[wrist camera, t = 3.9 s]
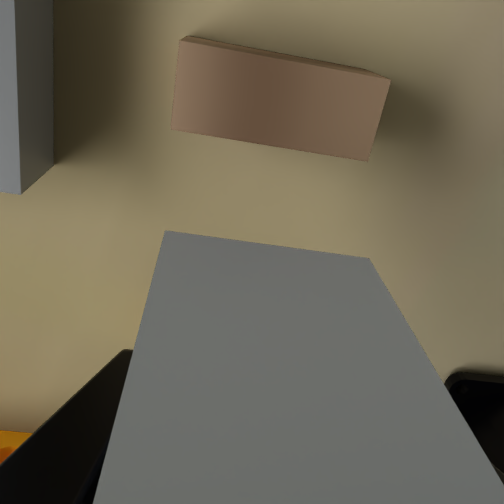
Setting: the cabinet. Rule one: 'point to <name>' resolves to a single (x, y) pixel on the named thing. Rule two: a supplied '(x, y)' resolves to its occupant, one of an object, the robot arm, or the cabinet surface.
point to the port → (25, 93)
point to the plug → (283, 389)
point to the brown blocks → (276, 99)
